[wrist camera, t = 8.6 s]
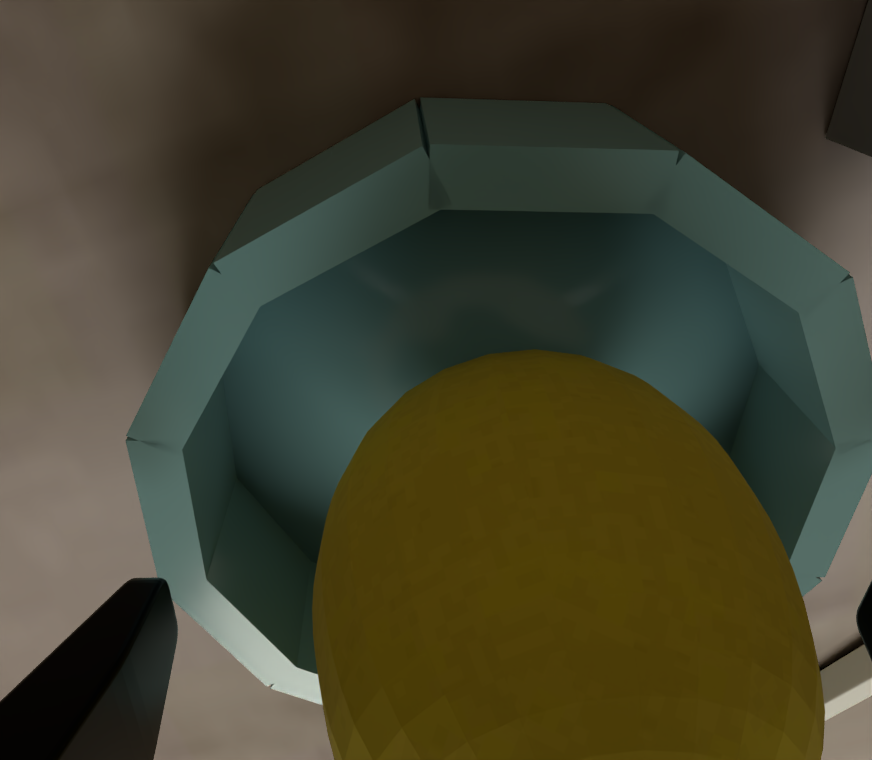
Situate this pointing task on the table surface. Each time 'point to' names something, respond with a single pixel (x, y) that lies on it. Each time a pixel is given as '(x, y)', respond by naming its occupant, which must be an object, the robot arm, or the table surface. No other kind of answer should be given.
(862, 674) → the fork
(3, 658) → the table surface
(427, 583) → the lemon
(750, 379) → the bowl
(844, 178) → the table surface
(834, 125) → the parts tray
